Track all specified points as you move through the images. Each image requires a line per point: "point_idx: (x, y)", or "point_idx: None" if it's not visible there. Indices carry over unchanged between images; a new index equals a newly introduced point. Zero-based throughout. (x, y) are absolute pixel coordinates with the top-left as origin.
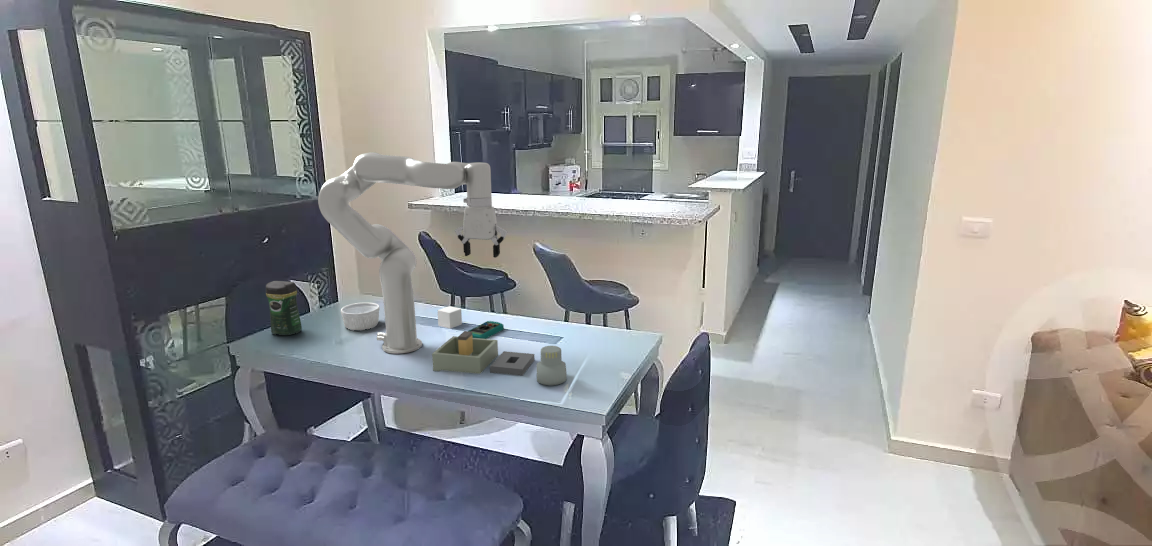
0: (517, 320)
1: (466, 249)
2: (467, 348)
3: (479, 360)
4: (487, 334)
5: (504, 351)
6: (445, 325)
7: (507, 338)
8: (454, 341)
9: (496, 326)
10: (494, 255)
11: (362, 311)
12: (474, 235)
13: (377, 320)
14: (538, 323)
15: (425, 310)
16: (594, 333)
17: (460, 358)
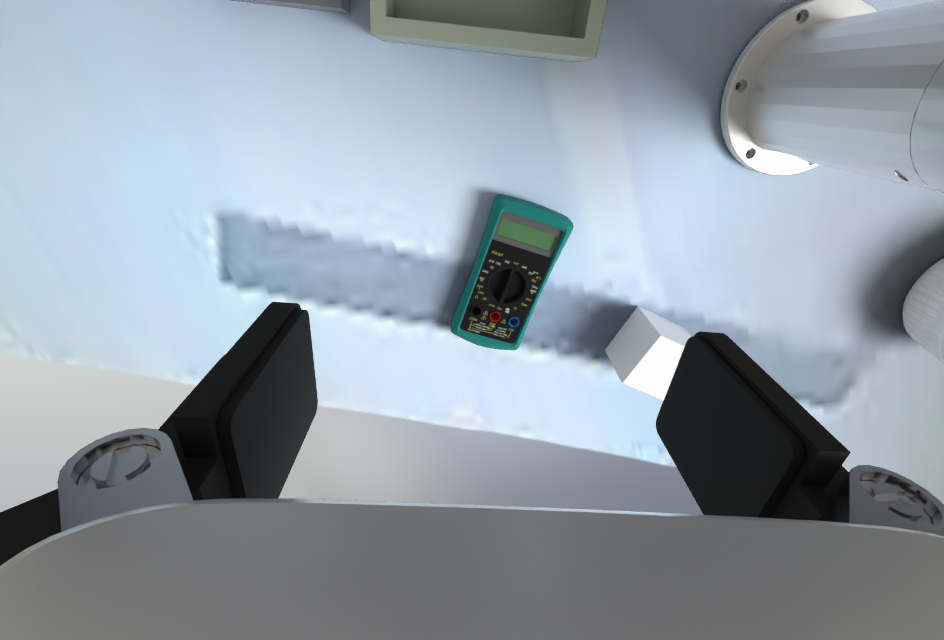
0: (431, 400)
1: (746, 386)
2: None
3: None
4: (484, 240)
5: (336, 5)
6: (658, 318)
7: (411, 243)
8: (581, 33)
9: (468, 306)
10: (276, 312)
11: None
12: (750, 629)
13: (916, 307)
14: (355, 385)
15: None
16: (135, 327)
17: None
